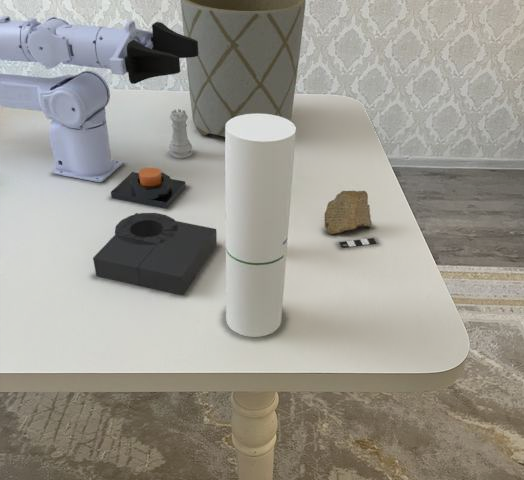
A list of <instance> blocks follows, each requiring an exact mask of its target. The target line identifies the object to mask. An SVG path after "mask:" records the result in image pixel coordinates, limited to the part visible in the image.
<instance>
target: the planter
mask: <svg viewBox="0 0 524 480" xmlns="http://www.w3.org/2000/svg"><path fill="white" fill-rule="evenodd" d="M180 8H181V21H182V31H183V36H186V37H189V38H192V39H194V40H196V41H198V53H199V54H198V56H196V57H191V58H185V61H186V72H187V79H188V80H187V81H188V90H189V91H188V92H189V99H190V109H191V117H192V121H193V124H194V126H195V128H196V130H197V131H198V132H199V133H200V134H201V135H202V136H205V137H206V136H208V135H209V134H212V135H216V136H220V137H224V138H225V125H226V123H227V121H229V120H230V119H232V118H234V117H237V116H240V115H245V114H270V115H276V116H280V117H283V118H285V119H288V120H289V121H291V122H292V115H293V107H294V100H295V94H296V93H295V92H296V85H297V78H298V77H297V76H298V69H299V62H300V54H301V47H302V38H303V31H304V30H303V29H304V22H305V21H304V20H305V12H306V0H180Z"/></svg>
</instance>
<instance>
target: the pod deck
mask: <svg viewBox="0 0 524 480" xmlns="http://www.w3.org/2000/svg"><path fill="white" fill-rule="evenodd" d="M217 236H218V235H217V228H213V227H209V226H204V225H198V224H193V223H188V222H184V221H178V220H176V219H174V218H173V217H171V216H169V215H167V214H163V213H159V212H158V213H157V212H141V213H138V212H135V213H133V214H132V215H129V216H127V217H125V218H123V219H121V220H120V221H119V222H118V223H116V225H115V228H114V235H113V236H112V237H111V238H110V239H109V240H108V241H107V243H106V244H104V246H103V247H102V248H101V249H100V250H99V251H98V252H97V253H96V254H94V256H93V257H92V260H93V261H92V262H93V265H94V271H95V276H96V277H100V278H105V279H109V280H113V281H118V282H122V283H125V284H131V285H136V286H140V287H145V288H149V289H152V290H153V289H154V290H157V291H158V290H159V291H162V292H167V293H171V294H176V295H181V296H183V295H185V293H186V292H187V290H188V288H190V286H191V284H192V283H193V281H194V280H195V279H196V277H197V276H198V274H199V273H200V271H202V268H203V267H204V265H205V264H206V262H207V261H208V259H209V258H210V257H211V255H212V254H213V253H214V251H215V250H216V248H217V246H218V245H217V244H218V242H217V241H218V240H217V238H218V237H217Z"/></svg>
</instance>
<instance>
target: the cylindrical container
mask: <svg viewBox="0 0 524 480" xmlns="http://www.w3.org/2000/svg"><path fill="white" fill-rule="evenodd" d="M296 133H297V127H296V125H295V123H293V122H292V120H291V121H289V120H288V119H285V118H283V117H280V116H276V115H270V114H245V115H240V116H237V117H234V118H232V119H230V120H229V121H227V123H226V125H225V137H224V138H225V139H224V140H225V142H224V143H225V144H224V149H225V152H224V153H225V154H224V155H225V162H224V163H225V170H224V171H225V173H224V175H225V320H226V324H227V326H228V327H229V328H230V330H231V331H232V332H234V333H236V334H238V335H241V336H244V337H249V338H251V337H252V338H260V337H265V336H269V335H271V334H273V333H274V332H276V331H277V330H278V329H279V328H280V326H281V324H282V316H283V303H284V291H285V279H286V277H285V276H286V265H287V250H288V238H289V228H290V227H289V226H290V214H291V213H290V212H291V199H292V186H293V172H294V158H295V147H296V136H297V135H296Z"/></svg>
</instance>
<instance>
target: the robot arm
mask: <svg viewBox="0 0 524 480" xmlns="http://www.w3.org/2000/svg"><path fill="white" fill-rule="evenodd" d="M198 54H199V53H198V41H196V40H194V39H192V38H189V37H186V36H184V34H180V33H178V32H176V31H174V30H173V29H170V28H169V27H168V26H167V25H166V24H164V23H163V22H160V21H155V22H153V23H152V24H151V29H149V30H144V29H139V28H137V27H136V22H135V20H128V21H126V22H125V24H124V28H121V27H120V28H119V27H108V26H99V25H86V24H70V23H69V22H68V21H66V20H64V19H63V18H59V17H55V16H51V17H49V18H48V19H46V20H45V21H44V22H40V21H38V19H37V18H36V17H29V18H27V19H26V20H11V17H10V16H9V15H1V16H0V61H6V62H7V61H8V62H28V63H39V64H41V65H43V66H44V67H45V69H47V70H51V69H54V68H55V67H57V66H58V65H59V64H60V63H62V64H63V65H74V66H78V67H87V68H98V69H105V70H110V72H111V75H120V76H124V75H125V74H128V80H129V83H130V84H132V85H136V84H138V83H141V82H143V81H145V80H149V79H151V78H157V77H164V76H171V75H176V74H180V72H181V63H180V59H186V58H191V57H196V56H198ZM110 99H111V91H110V88H109V85H108V82H107V81H106V79H105V78H103V76H101V74H99V73H97V72H96V71H93V70H83V71H81V72H80V73H78V74H65V75H60V76H54V77H41V76H32V75H31V76H30V75H21V74H20V75H19V74H11V73H10V74H9V73H0V108H9V109H16V110H17V109H18V110H27V111H36V112H37V111H38V112H42V113H43V115H44V117H45V118H46V119H47V120H51V122H50V125H49V129H48V137H49V138H48V139H49V143H50V148H51V153H52V157H53V162H54V168H55V169H54V170H53V174H54V175H58V176H64V177H68V178H74V179H80V180H84V181H91V182H95V183H103V182H104V181H105V180H106V179H107V178H109V177H110V176H111V175H112V174H113V173H115V172H116V171H117V170H118V169H119V168H120V167H121V166H122V165H123V162H122V161H120V160H114V159H112V158H113V157H112V152H111V145H110V137H109V132H108V131H109V130H108V124H107V123H108V122H107V118H106V115H107V113H106V107H107V106H108V104H109V102H110Z"/></svg>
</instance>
